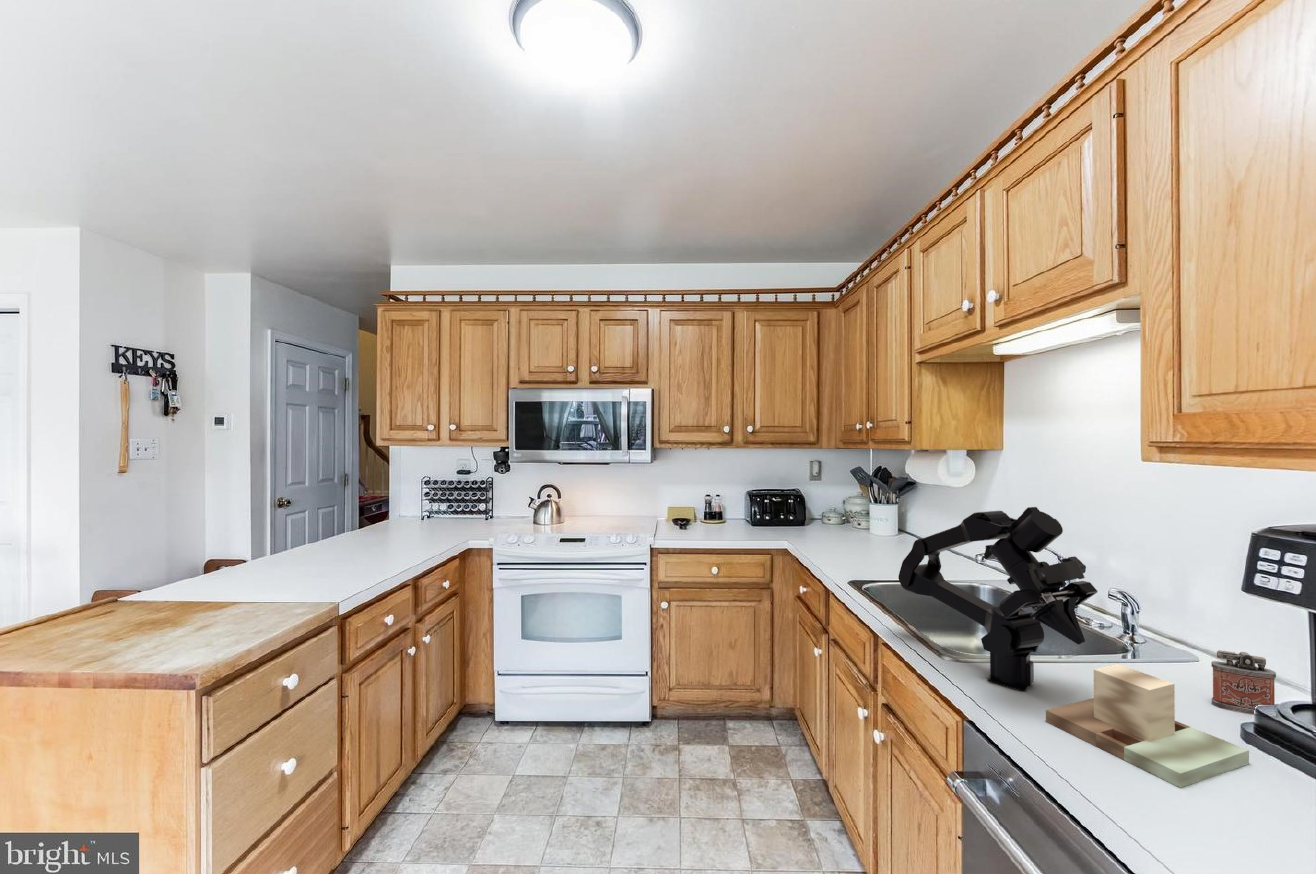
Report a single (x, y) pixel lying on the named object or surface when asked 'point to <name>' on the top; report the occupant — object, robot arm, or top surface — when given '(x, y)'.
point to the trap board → (1153, 746)
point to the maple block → (1134, 702)
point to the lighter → (1242, 682)
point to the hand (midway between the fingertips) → (1082, 643)
